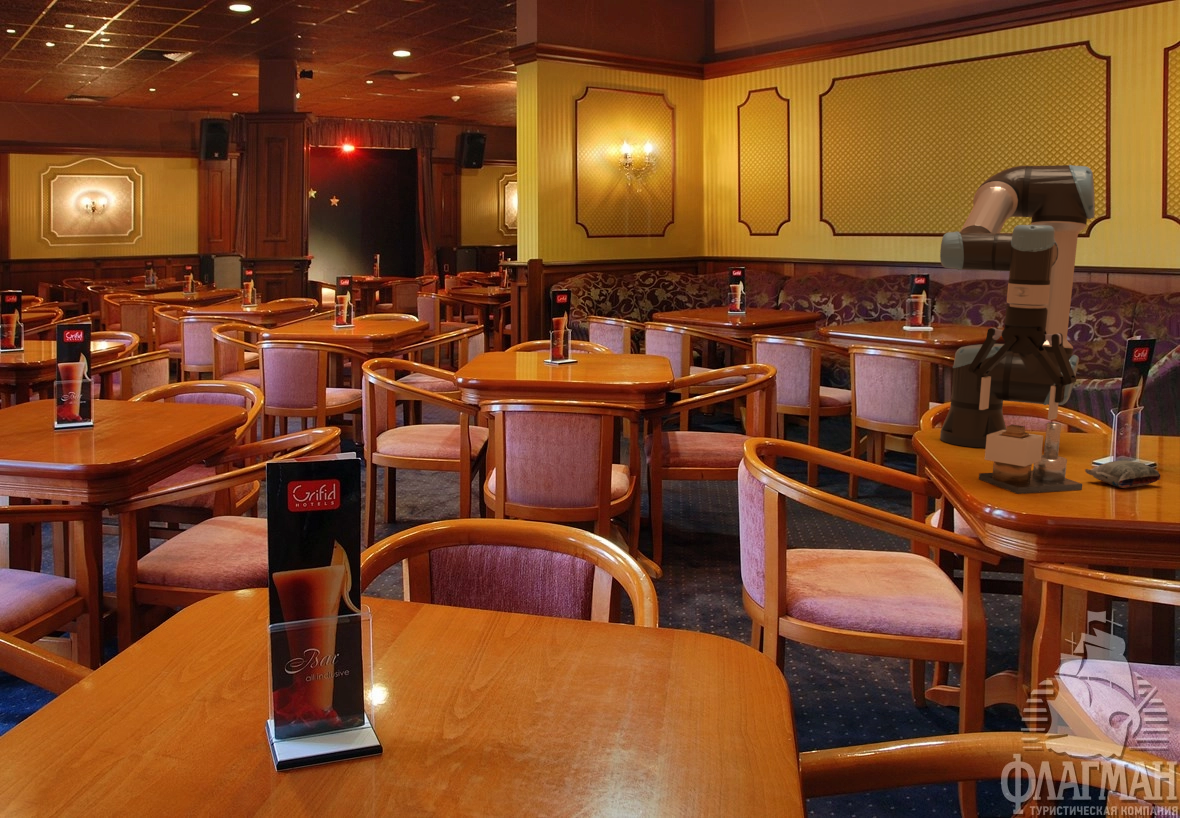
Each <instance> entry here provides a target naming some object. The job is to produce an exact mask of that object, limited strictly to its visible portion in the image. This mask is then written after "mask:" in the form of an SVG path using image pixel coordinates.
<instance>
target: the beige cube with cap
mask: <svg viewBox="0 0 1180 818" xmlns="http://www.w3.org/2000/svg"><path fill="white" fill-rule="evenodd" d="M1005 431H1006V430H1001V431H998V432H994V433H991V434H988V435H987V438H986V448H985V450H984V460H985V461H990V462H991V461H992V462H994V461H995V462H1001V463H1007V464H1013V465H1019V466H1024V467H1025V466H1028V465H1030V464H1032V465H1034V463H1036V462H1038V461H1041V456H1042V455H1043V444H1044V443H1043V442H1044V435H1043V434H1042V435H1041V434H1035V433H1029V437H1026V438H1023V439H1020V438H1014V437H1007V436H1002V432H1005Z"/></svg>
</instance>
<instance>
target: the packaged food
mask: <svg viewBox="0 0 1180 818" xmlns="http://www.w3.org/2000/svg"><path fill="white" fill-rule="evenodd" d="M1084 472H1085V473H1086V474H1087V475H1090V476H1092V477H1093V478H1094V479H1096V480H1099V481H1101V482H1103V483H1106V484H1109V485H1111V486H1113V487H1116V488H1121V489H1127V488H1128V489H1129V488H1136V487H1142V486H1147V485H1151V484H1153V483H1156V482H1158V481H1160V480H1161V474H1160V472H1159V471H1158V469H1155V468H1154V467H1152V466H1149V465H1148V464H1145V463H1142V462H1139V461H1132V460H1115V461H1114V460H1112V461H1109V462H1105V463H1103V464H1100V465H1098V466H1094V467H1093V468H1091V469H1088V468H1085V469H1084Z"/></svg>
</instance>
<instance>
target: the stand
mask: <svg viewBox="0 0 1180 818" xmlns="http://www.w3.org/2000/svg"><path fill="white" fill-rule="evenodd" d="M1061 428H1062V423H1058V422H1046V428H1045V429H1046V431H1045V441H1044V450H1043V451H1044V452H1043V454H1042V456H1041V461H1038V462H1036V463H1033V469H1032V470H1033V477H1035V478H1037V479H1041V480H1047V481H1063V480H1065V478H1066V472H1067V463H1068V462H1067V461H1068V459H1067V458H1066V457H1063V456H1060V455H1059V451H1060V450H1059V449H1060V440H1061V430H1062V429H1061Z"/></svg>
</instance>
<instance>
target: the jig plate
mask: <svg viewBox="0 0 1180 818" xmlns="http://www.w3.org/2000/svg"><path fill="white" fill-rule="evenodd" d="M992 476H993V472H982V473H981V472H980V473H978V480H979V481H982V482H985V483H988V484H991V485H992V486H993V485H994V486H996V487H999V488H1001V489H1003V488H1004V490H1006V491H1009V492H1012V493H1015V494H1018V495H1019V494H1020V495H1021V494H1022V493H1023V494H1036V493H1049V492H1050V493H1051V492H1069V491H1070V492H1071V491H1082V490H1083V485H1084V484H1083V483H1082V482H1081V483H1080V482H1078V481H1076V480H1073V479H1070V478H1066V477H1065V480H1063V481H1047V480H1041V479H1037V478H1035V477H1033V469H1031V477H1030V482H1029V483H1026V484H1011V483H1004V482H999V481H996V480H994V479H993V478H992ZM1023 494H1022V495H1023Z"/></svg>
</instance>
